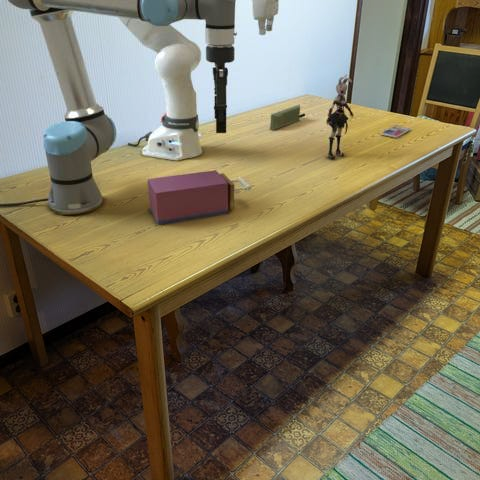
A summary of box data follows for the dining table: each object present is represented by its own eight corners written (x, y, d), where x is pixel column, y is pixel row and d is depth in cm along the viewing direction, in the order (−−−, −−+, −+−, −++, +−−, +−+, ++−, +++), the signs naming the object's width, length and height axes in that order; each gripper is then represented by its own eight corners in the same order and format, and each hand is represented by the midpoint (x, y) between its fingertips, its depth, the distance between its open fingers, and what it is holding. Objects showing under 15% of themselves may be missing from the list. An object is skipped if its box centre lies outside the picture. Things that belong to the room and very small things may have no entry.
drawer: (240, 193, 157) (241, 170, 153) (252, 205, 149) (253, 181, 146) (161, 205, 148) (160, 181, 145) (169, 218, 141) (168, 193, 137)
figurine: (327, 162, 183) (336, 77, 168) (315, 158, 187) (322, 74, 172) (352, 153, 191) (362, 71, 177) (339, 149, 195) (348, 69, 181)
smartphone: (411, 128, 218) (397, 136, 208) (410, 130, 218) (396, 138, 208) (395, 124, 222) (380, 132, 211) (394, 126, 222) (380, 134, 212)
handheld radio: (268, 129, 217) (300, 116, 234) (274, 130, 216) (306, 118, 233) (269, 113, 214) (302, 102, 231) (276, 115, 212) (308, 103, 229)
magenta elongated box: (216, 199, 155) (215, 170, 150) (227, 213, 147) (227, 182, 142) (149, 209, 148) (147, 179, 144) (158, 224, 140) (155, 193, 135)
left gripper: (237, 53, 121) (236, 139, 132) (231, 38, 143) (230, 113, 153) (206, 53, 121) (207, 139, 131) (205, 38, 142) (206, 113, 153)
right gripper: (265, -18, 163) (263, 28, 170) (249, -15, 146) (248, 36, 153) (284, -17, 162) (281, 29, 169) (270, -14, 145) (268, 37, 152)
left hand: (220, 125), depth 142 cm, fingers open, 13 cm apart
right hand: (265, 32), depth 161 cm, fingers open, 8 cm apart
